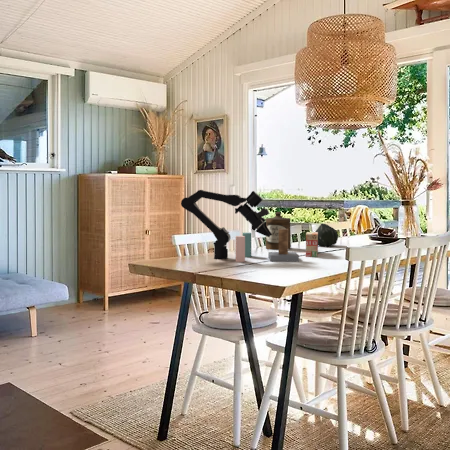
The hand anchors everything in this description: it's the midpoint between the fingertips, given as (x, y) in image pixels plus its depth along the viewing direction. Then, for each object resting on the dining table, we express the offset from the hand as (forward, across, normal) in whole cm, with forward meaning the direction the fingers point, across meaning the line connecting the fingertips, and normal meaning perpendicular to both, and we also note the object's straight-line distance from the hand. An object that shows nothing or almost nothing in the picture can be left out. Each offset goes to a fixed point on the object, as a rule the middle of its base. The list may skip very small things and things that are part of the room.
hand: (270, 235), depth 279 cm
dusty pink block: (-1, -10, +18) cm, 21 cm away
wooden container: (+9, +50, +8) cm, 51 cm away
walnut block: (+11, 0, +2) cm, 11 cm away
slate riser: (+13, 0, +4) cm, 14 cm away
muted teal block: (-1, +10, +18) cm, 21 cm away
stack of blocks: (+24, +24, -6) cm, 34 cm away
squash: (+30, +67, -12) cm, 74 cm away
